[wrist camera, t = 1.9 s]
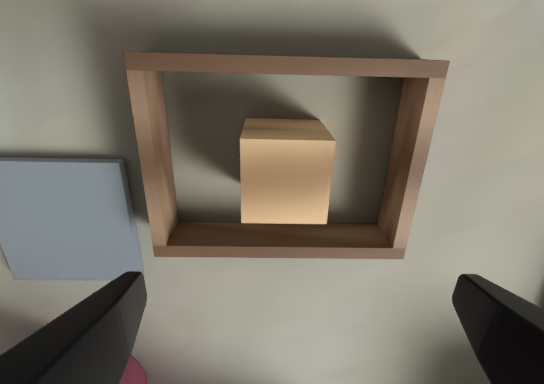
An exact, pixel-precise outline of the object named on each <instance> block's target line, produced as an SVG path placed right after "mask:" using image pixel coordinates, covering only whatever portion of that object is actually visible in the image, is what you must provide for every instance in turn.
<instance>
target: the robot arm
mask: <svg viewBox="0 0 544 384" xmlns="http://www.w3.org/2000/svg"><path fill="white" fill-rule="evenodd" d="M146 301H147V292H146V287H145V281H144V276H143V273H142V272H140V271H127V272H125V273H123V274H122V275H120V276H119V277H117V278H116V279H114V280H113V281H111V282H110V283H108V284H107V285H105V286H104V287H102V288H101V289H99V290H98V291H96V292H95V293H93V294H92V295H90V296H89V297H87V298H86V299H84V300H83V301H81V302H80V303H78V304H77V305H75V306H74V307H72V308H71V309H69V310H68V311H66V312H65V313H63V314H62V315H60V316H59V317H57V318H56V319H54V320H53V321H51V322H50V323H48V324H47V325H45V326H44V327H42V328H41V329H39V330H38V331H36V332H35V333H33V334H31V335H30V336H28V337H27V338H25V339H24V340H22V341H21V342H19V343H18V344H16V345H15V346H13V347H12V348H10V349H9V350H7V351H6V352H4V353H3V354H1V355H0V384H119V383H120V380H121V378H122V376H123V373H124V371H125V368H126V366H127V363H128V361H129V358H130V356H131V352H132V349H133V346H134V343H135V339H136V336H137V332H138V329H139V326H140V322H141V319H142V315H143V312H144V309H145V305H146ZM452 302H453V306H454V308H455V310H456V313H457V315H458V317H459V319H460V322H461V324H462V326H463V328H464V331H465V333H466V335H467V337H468V340H469V342H470V344H471V347H472V349H473V351H474V353H475V355H476V357H477V359H478V361H479V363H480V365H481V366H482V368H483V370H484V372H485V374H486V375H487V377H488V379H489V381H490V382H491V384H544V309H542V308H540V307H538V306H536V305H534V304H532V303H530V302H528V301H527V300H525V299H523V298H521V297H519V296H517V295H515V294H513V293H511V292H509V291H508V290H506V289H504V288H502V287H500V286H498V285H496V284H494V283H492V282H490V281H488V280H487V279H485V278H483V277H481V276H479V275H476V274H462V275H460V276H459V277H458V280H457V283H456V286H455V289H454V292H453V295H452Z"/></svg>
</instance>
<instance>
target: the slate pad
mask: <svg viewBox="0 0 544 384" xmlns="http://www.w3.org/2000/svg"><path fill="white" fill-rule="evenodd" d="M0 244H1V247H2V249H3V252H4V255H5V257H6V260H7V262H8V265H9V268H10V270H11V273H12V275H13V278H14V280H114V279H116V278H117V277H119V276H120V275H122V274H123V273H125V272H127V271H140V272H142V273H143V274H144V271H143V265H142V259H141V253H140V248H139V242H138V236H137V230H136V225H135V219H134V213H133V207H132V202H131V196H130V190H129V184H128V179H127V173H126V167H125V161H124V159H86V158H30V157H0Z"/></svg>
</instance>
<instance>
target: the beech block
mask: <svg viewBox="0 0 544 384" xmlns="http://www.w3.org/2000/svg"><path fill="white" fill-rule="evenodd" d="M335 144H336V140H335V139H334V138H333V137H332V135H331V134H330V133H329V131H328V130H327V129H326V127H325V126H324V125H323V124H322V122H321V121H320V120H310V119H266V118H246V119H245V123H244V126H243V130H242V133H241V137H240V179H241V223H274V224H327V216H328V207H329V198H330V189H331V180H332V171H333V162H334V153H335Z"/></svg>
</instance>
